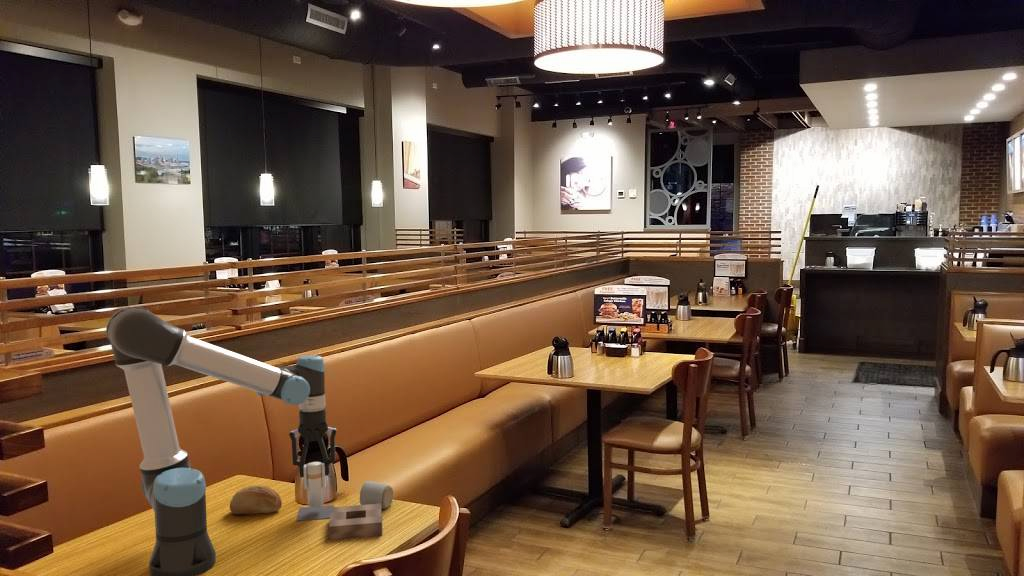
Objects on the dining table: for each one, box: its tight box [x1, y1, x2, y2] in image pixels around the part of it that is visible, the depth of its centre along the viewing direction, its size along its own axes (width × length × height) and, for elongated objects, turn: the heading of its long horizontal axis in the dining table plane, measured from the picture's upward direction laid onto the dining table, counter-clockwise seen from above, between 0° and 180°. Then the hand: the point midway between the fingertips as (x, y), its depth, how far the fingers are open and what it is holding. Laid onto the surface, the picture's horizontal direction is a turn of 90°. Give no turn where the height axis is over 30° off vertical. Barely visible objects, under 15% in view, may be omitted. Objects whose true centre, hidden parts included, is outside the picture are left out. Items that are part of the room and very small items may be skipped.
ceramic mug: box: [359, 480, 394, 510], centre depth 223 cm, size 11×8×8 cm
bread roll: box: [229, 484, 283, 515], centre depth 219 cm, size 10×15×8 cm, turn 96°
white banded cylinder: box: [306, 461, 325, 507], centre depth 216 cm, size 4×4×12 cm
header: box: [328, 504, 384, 541], centre depth 206 cm, size 14×14×4 cm
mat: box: [295, 504, 335, 522], centre depth 217 cm, size 10×10×1 cm
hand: (315, 486), depth 216 cm, fingers closed on white banded cylinder, 4 cm apart
